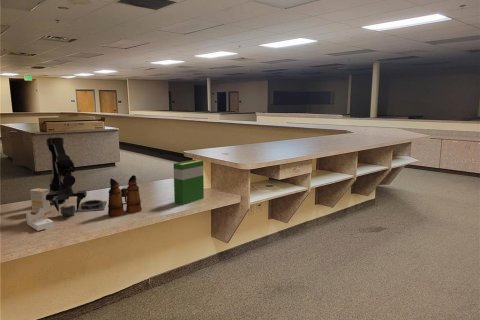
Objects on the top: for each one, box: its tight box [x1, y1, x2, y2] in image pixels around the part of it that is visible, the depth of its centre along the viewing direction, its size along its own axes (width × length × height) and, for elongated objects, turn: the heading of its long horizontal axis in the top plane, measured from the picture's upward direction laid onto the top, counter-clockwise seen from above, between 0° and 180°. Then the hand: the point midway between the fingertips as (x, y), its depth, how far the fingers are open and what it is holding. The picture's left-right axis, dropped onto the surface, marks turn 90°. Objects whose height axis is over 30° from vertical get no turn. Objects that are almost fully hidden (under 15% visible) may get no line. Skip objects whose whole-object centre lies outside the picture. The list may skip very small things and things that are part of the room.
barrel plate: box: [75, 199, 108, 213], centre depth 194 cm, size 14×14×3 cm
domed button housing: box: [59, 204, 77, 218], centre depth 180 cm, size 7×6×5 cm
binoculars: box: [107, 174, 142, 218], centre depth 184 cm, size 18×8×20 cm, turn 130°
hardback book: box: [173, 159, 205, 205], centre depth 207 cm, size 18×7×24 cm, turn 142°
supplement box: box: [29, 187, 52, 215], centre depth 183 cm, size 8×5×13 cm, turn 71°
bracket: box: [25, 208, 55, 232], centre depth 163 cm, size 13×7×8 cm, turn 50°
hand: (67, 210), depth 180 cm, fingers open, 9 cm apart
